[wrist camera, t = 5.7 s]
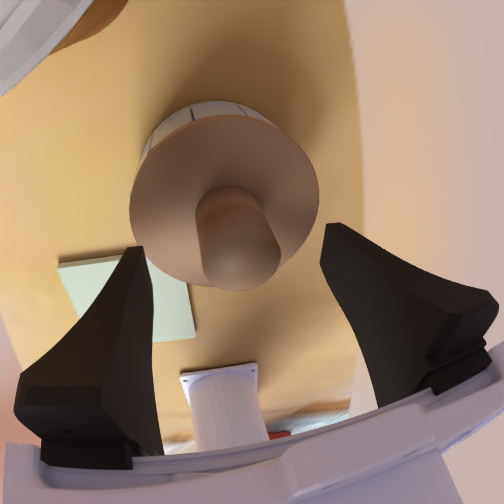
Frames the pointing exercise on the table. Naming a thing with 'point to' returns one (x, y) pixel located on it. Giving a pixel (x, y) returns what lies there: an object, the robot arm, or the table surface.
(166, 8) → the table surface
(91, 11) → the disposable coffee cup
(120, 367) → the robot arm
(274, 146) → the lid
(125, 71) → the table surface
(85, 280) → the mat
